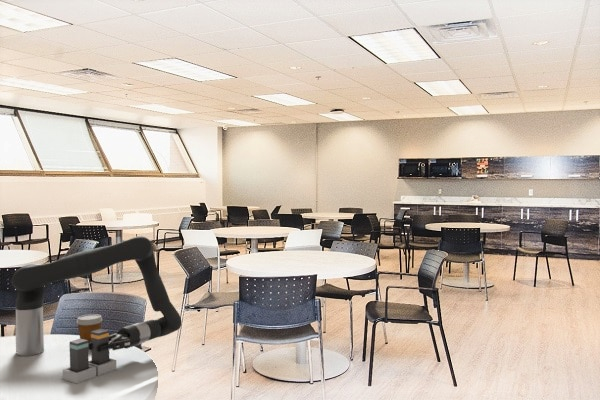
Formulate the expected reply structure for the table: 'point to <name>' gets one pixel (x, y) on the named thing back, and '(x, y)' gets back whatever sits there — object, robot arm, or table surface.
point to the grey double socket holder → (89, 372)
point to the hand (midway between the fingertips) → (93, 347)
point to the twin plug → (79, 355)
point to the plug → (97, 339)
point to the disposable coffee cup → (88, 325)
